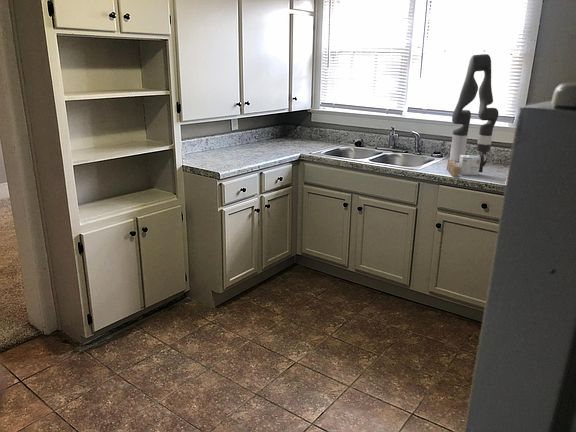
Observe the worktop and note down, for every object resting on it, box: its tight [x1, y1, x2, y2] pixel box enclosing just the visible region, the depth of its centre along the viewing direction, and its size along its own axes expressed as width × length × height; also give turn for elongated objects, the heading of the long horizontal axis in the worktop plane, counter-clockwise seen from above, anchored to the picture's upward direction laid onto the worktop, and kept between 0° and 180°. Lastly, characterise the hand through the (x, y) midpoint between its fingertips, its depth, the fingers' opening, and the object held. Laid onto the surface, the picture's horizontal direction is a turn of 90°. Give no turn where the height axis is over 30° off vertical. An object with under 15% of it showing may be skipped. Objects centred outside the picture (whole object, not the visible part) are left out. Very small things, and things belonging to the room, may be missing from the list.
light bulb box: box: [458, 154, 481, 176], centre depth 283 cm, size 11×7×11 cm, turn 86°
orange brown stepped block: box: [446, 159, 460, 178], centre depth 285 cm, size 20×3×6 cm, turn 173°
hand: (480, 172), depth 283 cm, fingers closed
